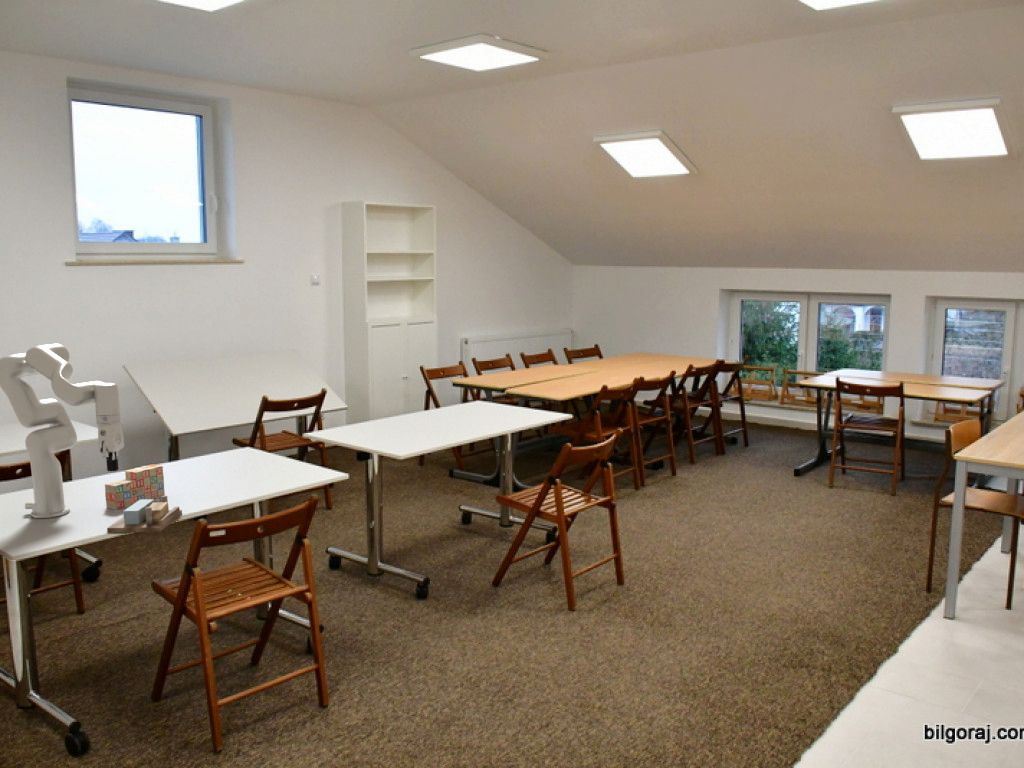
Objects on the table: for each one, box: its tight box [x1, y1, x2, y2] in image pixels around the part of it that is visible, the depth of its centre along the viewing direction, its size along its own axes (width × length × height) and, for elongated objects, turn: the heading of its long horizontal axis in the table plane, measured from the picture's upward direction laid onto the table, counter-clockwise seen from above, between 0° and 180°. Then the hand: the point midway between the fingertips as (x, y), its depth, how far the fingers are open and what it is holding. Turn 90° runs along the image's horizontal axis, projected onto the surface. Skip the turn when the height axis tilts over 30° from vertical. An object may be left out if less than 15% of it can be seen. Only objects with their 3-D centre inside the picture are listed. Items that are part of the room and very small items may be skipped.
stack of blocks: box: [104, 464, 166, 510], centre depth 328 cm, size 21×6×12 cm, turn 151°
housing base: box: [106, 495, 183, 533], centre depth 302 cm, size 18×20×8 cm
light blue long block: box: [122, 499, 155, 525], centre depth 302 cm, size 5×14×5 cm, turn 1°
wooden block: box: [145, 501, 170, 523], centre depth 302 cm, size 5×10×4 cm, turn 8°
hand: (112, 470), depth 299 cm, fingers closed
